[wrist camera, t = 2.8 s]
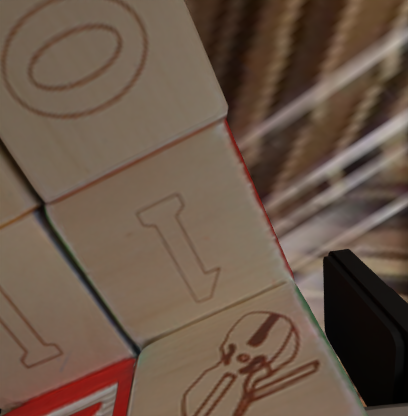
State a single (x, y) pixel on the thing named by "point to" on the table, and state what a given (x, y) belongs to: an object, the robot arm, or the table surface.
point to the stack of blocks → (139, 231)
